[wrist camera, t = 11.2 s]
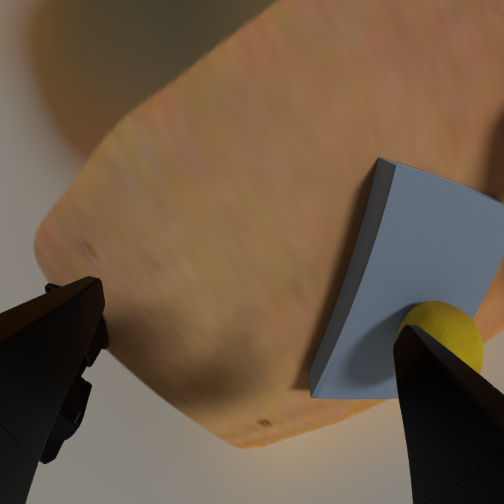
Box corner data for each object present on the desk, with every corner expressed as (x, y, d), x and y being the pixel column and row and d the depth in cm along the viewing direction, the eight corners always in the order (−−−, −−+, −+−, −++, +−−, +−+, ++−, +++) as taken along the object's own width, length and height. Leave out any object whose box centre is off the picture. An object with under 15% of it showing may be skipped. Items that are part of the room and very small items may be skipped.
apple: (386, 287, 18) (432, 377, 11) (461, 277, 18) (519, 348, 10) (375, 354, 21) (400, 439, 14) (442, 341, 20) (479, 413, 13)
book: (308, 373, 26) (310, 397, 24) (378, 157, 17) (396, 165, 15) (411, 376, 27) (419, 396, 24) (497, 199, 18) (519, 212, 15)
